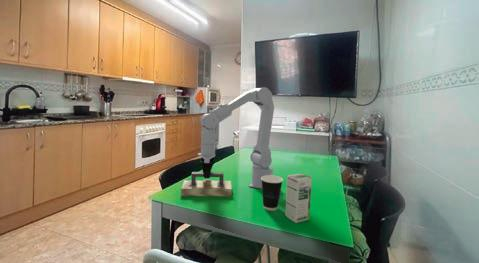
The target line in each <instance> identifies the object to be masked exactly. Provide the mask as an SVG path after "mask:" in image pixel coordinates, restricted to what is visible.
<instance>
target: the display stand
mask: <svg viewBox="0 0 479 263" xmlns="http://www.w3.org/2000/svg"><path fill="white" fill-rule="evenodd" d="M232 190H233V188H232V181H231V180H223V185H219V180H212V179H211V178H204V179H203V180H196V184H191V179H190V180H185V179H184V180H183V183H182V186H181V188H180V197H232Z"/></svg>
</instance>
